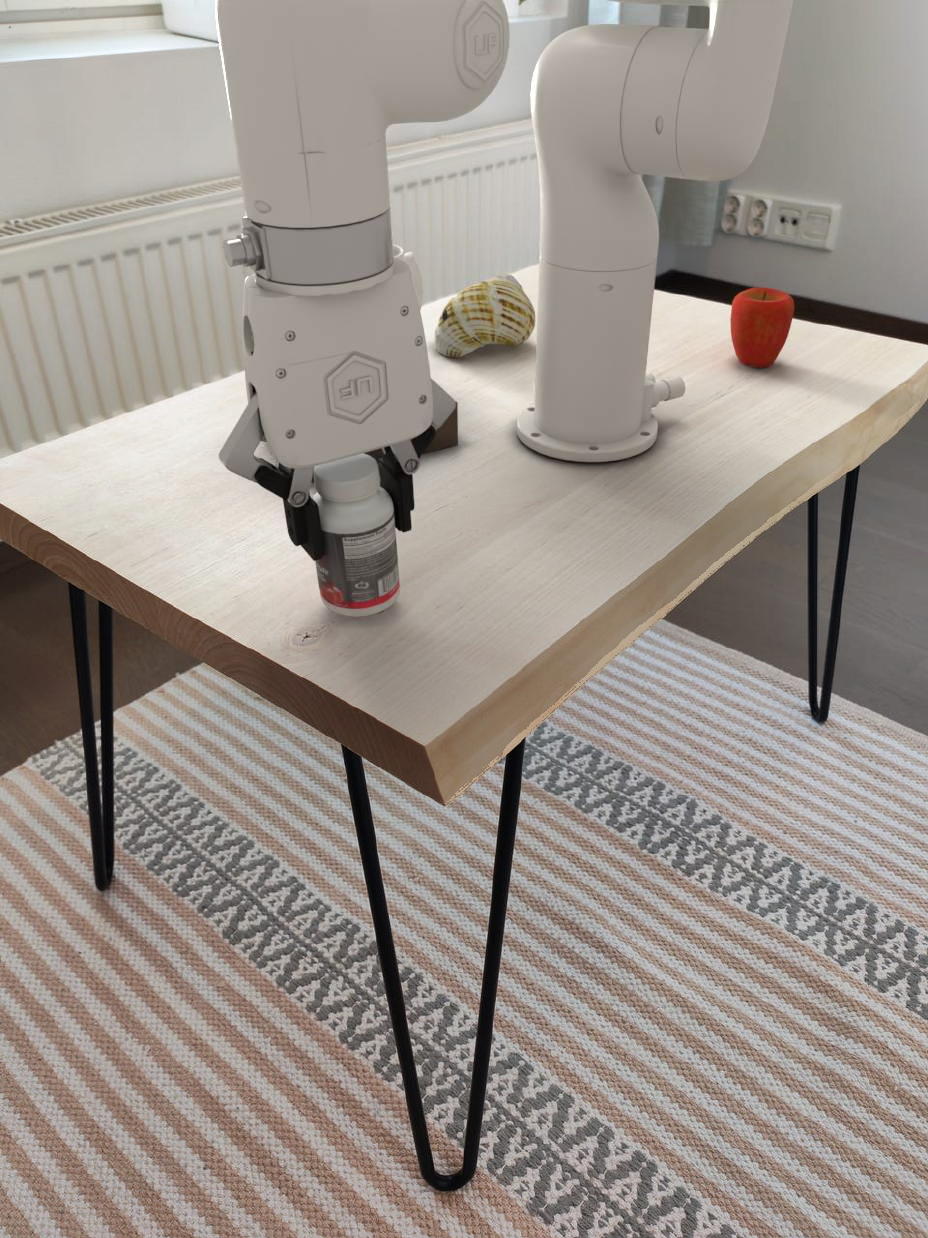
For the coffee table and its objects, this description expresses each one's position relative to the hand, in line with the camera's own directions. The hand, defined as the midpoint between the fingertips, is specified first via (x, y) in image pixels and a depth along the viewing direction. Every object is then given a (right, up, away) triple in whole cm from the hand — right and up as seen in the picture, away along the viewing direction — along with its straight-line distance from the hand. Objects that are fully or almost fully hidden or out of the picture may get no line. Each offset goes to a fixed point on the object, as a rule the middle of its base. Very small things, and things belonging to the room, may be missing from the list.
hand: (353, 533), depth 63 cm
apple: (+37, +21, +39) cm, 58 cm away
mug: (-1, +21, +39) cm, 45 cm away
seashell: (+10, +24, +44) cm, 51 cm away
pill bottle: (0, -4, +3) cm, 5 cm away
